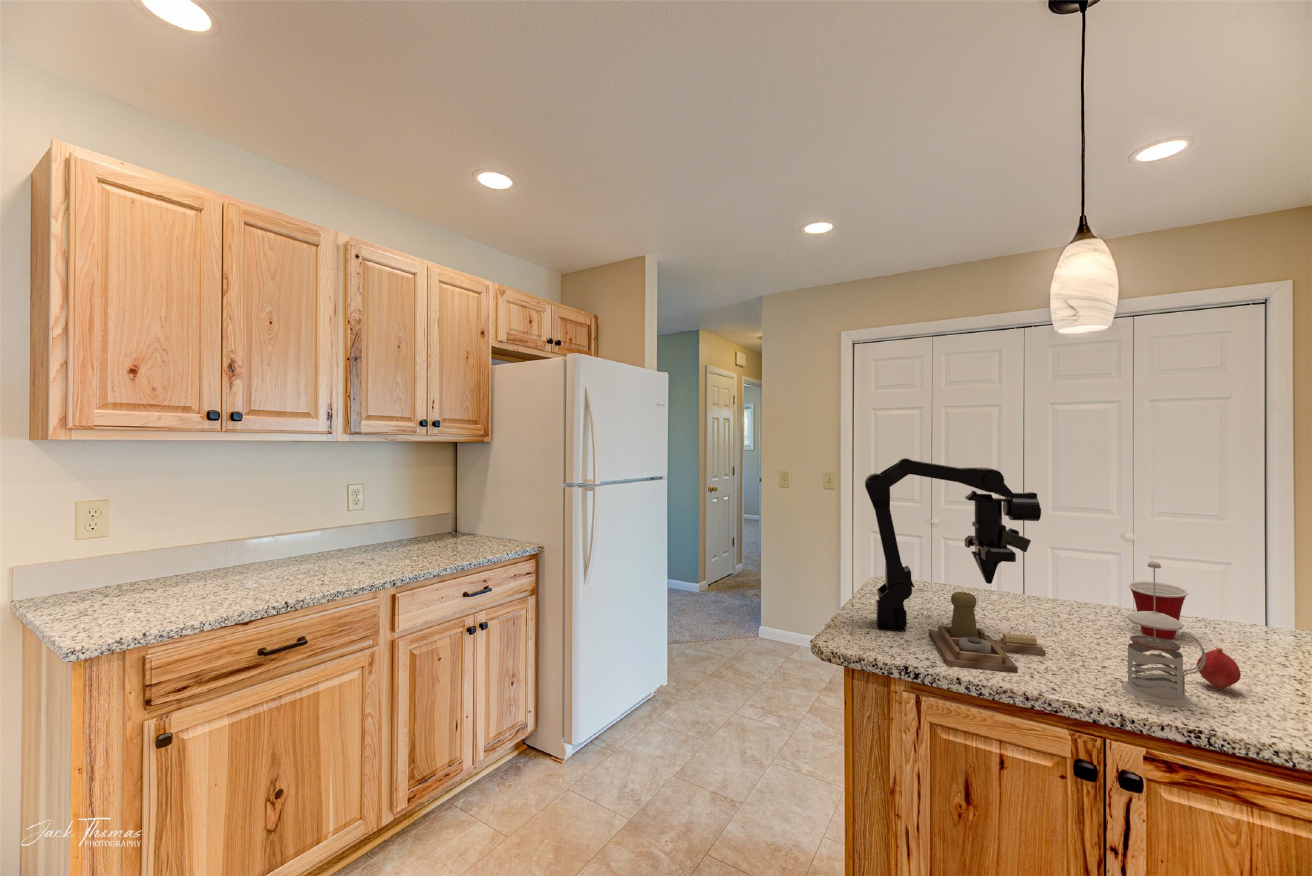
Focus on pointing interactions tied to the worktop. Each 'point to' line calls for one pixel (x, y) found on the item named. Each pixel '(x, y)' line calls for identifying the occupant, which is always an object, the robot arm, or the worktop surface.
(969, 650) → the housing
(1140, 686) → the french press
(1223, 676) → the onion
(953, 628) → the olive pepper mill
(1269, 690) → the worktop surface
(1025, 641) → the bar
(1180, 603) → the plastic cup
